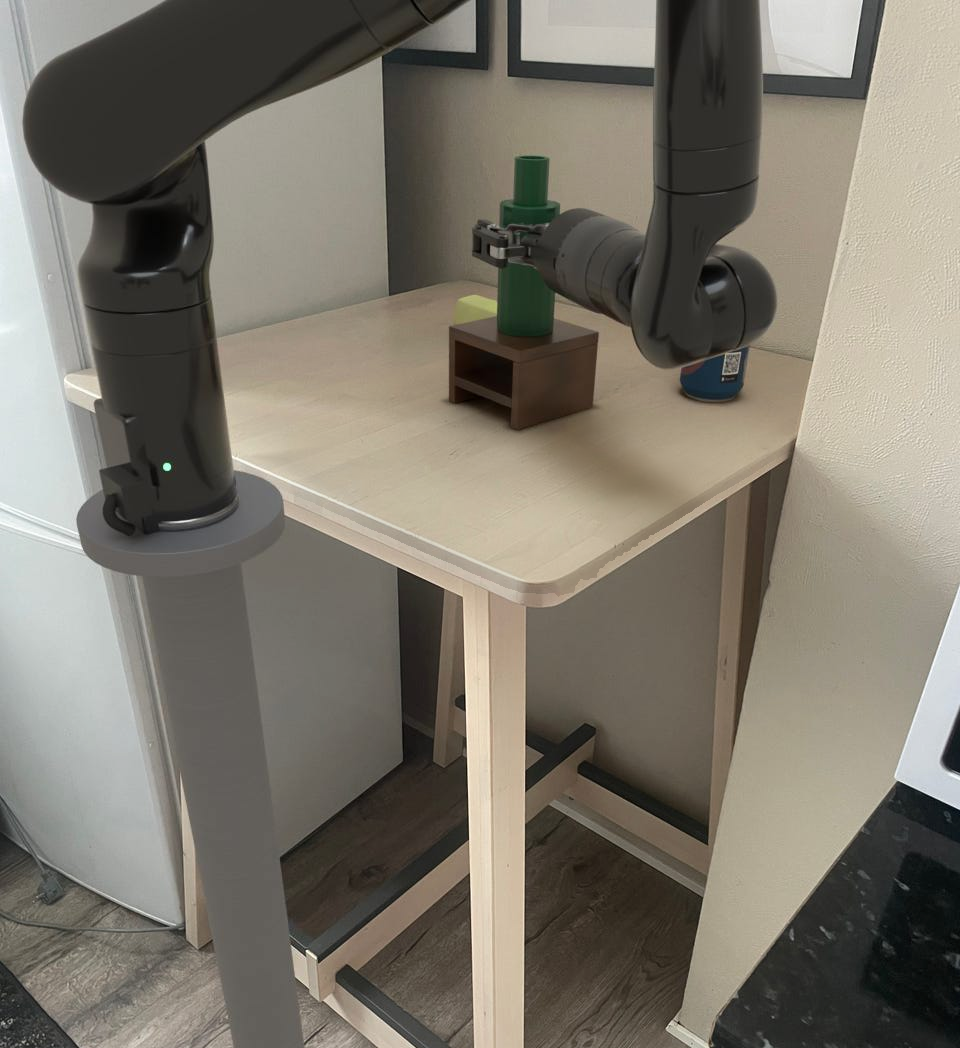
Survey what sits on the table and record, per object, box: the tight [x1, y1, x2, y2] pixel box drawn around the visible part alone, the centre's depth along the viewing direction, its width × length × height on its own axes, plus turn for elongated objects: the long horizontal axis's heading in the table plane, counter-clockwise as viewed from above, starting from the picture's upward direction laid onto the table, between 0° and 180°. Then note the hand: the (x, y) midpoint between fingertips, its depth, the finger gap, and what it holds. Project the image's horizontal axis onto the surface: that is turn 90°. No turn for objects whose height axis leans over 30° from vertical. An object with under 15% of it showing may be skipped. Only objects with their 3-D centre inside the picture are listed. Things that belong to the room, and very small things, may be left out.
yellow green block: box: [452, 294, 497, 325], centre depth 125 cm, size 14×6×20 cm
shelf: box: [448, 316, 600, 431], centre depth 103 cm, size 11×11×8 cm
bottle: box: [496, 154, 561, 337], centre depth 97 cm, size 6×6×16 cm
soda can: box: [679, 345, 751, 403], centre depth 106 cm, size 7×7×12 cm
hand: (519, 228), depth 97 cm, fingers open, 8 cm apart
